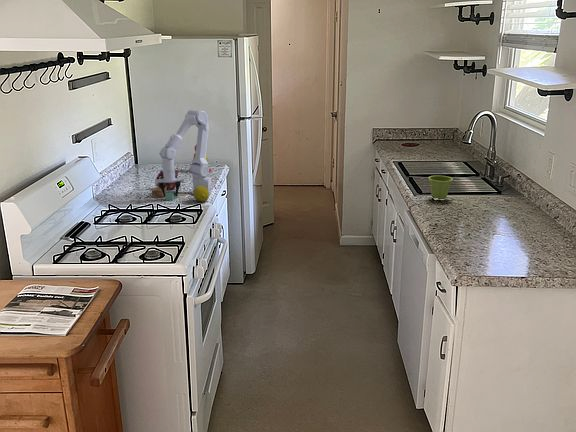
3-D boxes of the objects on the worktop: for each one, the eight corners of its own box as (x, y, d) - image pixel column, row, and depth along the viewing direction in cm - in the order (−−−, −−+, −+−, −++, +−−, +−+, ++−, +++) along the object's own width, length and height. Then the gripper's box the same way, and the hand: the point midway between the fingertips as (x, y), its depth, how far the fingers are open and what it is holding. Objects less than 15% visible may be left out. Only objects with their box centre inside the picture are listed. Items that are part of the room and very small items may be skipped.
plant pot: (423, 200, 289) (425, 178, 285) (431, 195, 298) (433, 174, 295) (446, 204, 282) (448, 182, 279) (454, 198, 292) (455, 177, 289)
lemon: (210, 203, 284) (209, 188, 282) (194, 204, 283) (193, 189, 280) (208, 198, 294) (207, 183, 292) (193, 199, 293) (192, 183, 290)
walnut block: (167, 195, 301) (166, 188, 299) (162, 198, 295) (162, 190, 294) (156, 194, 302) (155, 187, 300) (151, 197, 296) (151, 190, 295)
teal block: (175, 198, 294) (175, 191, 293) (173, 200, 290) (172, 193, 289) (168, 198, 295) (168, 190, 293) (165, 200, 291) (165, 192, 290)
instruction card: (190, 194, 301) (190, 194, 300) (186, 197, 295) (186, 197, 295) (175, 194, 302) (175, 193, 302) (171, 197, 296) (171, 196, 296)
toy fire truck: (157, 187, 317) (156, 169, 314) (179, 187, 317) (178, 168, 314) (155, 190, 310) (153, 171, 307) (177, 190, 311) (176, 171, 307)
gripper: (182, 168, 293) (184, 193, 297) (154, 169, 290) (156, 195, 294) (183, 171, 287) (185, 197, 291) (154, 172, 283) (156, 199, 287)
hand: (170, 196), depth 292 cm, fingers open, 5 cm apart
